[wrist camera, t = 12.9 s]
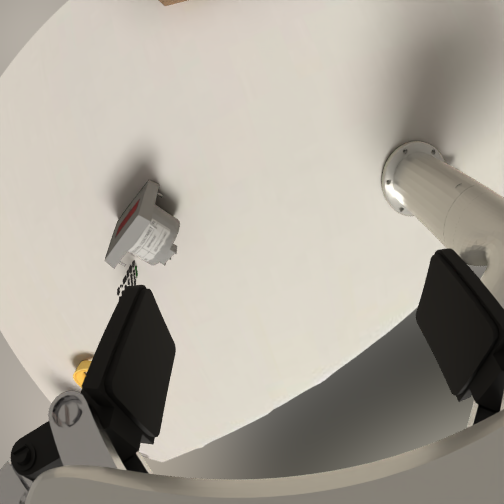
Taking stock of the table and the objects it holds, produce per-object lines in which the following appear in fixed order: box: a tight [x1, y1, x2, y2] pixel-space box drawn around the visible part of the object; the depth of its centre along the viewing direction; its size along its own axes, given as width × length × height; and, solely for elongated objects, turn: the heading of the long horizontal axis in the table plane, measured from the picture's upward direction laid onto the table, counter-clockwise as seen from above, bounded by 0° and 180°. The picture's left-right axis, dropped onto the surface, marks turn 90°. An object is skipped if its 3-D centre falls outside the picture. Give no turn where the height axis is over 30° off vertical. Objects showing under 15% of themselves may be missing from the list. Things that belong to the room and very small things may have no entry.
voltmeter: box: [105, 180, 180, 300], centre depth 43 cm, size 27×11×10 cm, turn 170°
